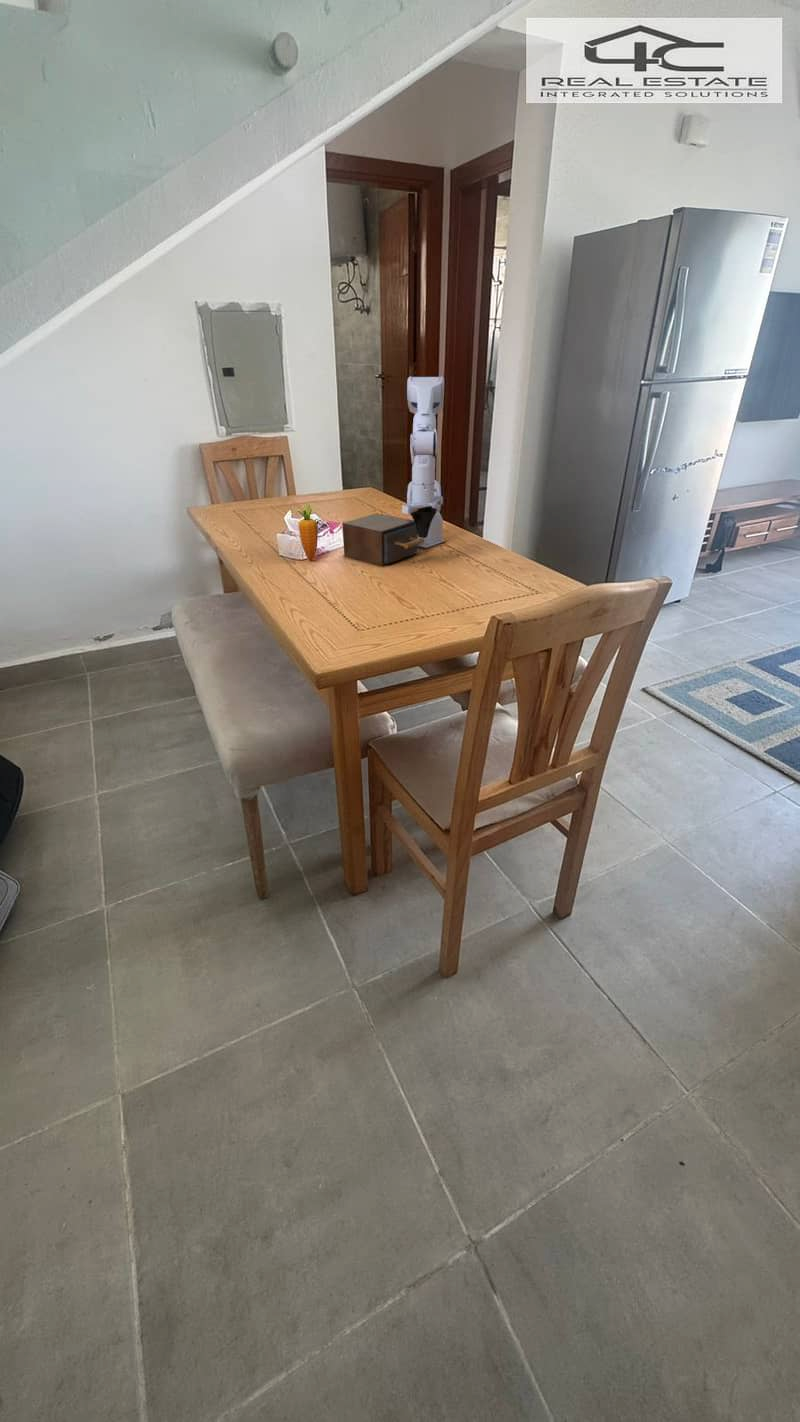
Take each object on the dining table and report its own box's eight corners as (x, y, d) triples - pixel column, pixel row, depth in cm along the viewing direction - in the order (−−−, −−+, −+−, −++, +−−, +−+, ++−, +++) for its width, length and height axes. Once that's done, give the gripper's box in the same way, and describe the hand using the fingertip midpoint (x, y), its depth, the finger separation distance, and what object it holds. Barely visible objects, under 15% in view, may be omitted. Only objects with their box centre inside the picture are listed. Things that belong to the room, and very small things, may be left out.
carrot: (311, 564, 165) (306, 508, 157) (298, 561, 168) (292, 506, 160) (323, 560, 169) (319, 504, 161) (310, 557, 171) (306, 502, 163)
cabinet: (415, 554, 173) (415, 520, 168) (382, 566, 164) (381, 531, 159) (377, 545, 181) (377, 513, 176) (344, 556, 172) (342, 522, 167)
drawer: (430, 555, 169) (431, 527, 165) (400, 567, 160) (400, 538, 156) (382, 544, 179) (381, 517, 175) (351, 554, 170) (349, 526, 166)
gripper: (417, 489, 146) (417, 545, 153) (453, 480, 155) (451, 533, 162) (395, 486, 150) (396, 540, 157) (431, 477, 159) (430, 529, 166)
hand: (422, 536), depth 160 cm, fingers closed
